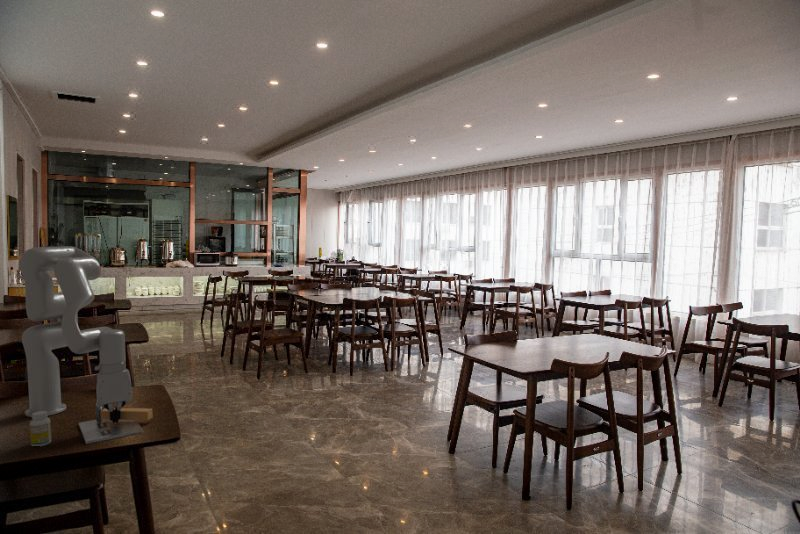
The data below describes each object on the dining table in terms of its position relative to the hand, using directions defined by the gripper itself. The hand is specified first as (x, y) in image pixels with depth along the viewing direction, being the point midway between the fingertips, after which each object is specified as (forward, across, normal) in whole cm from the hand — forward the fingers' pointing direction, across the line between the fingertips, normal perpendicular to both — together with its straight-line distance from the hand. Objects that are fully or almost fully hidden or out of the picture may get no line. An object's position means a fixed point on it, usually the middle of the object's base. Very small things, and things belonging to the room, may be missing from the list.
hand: (115, 421), depth 180 cm
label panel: (+2, -2, -1) cm, 3 cm away
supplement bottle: (+2, -21, -3) cm, 21 cm away
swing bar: (0, +4, +2) cm, 4 cm away
